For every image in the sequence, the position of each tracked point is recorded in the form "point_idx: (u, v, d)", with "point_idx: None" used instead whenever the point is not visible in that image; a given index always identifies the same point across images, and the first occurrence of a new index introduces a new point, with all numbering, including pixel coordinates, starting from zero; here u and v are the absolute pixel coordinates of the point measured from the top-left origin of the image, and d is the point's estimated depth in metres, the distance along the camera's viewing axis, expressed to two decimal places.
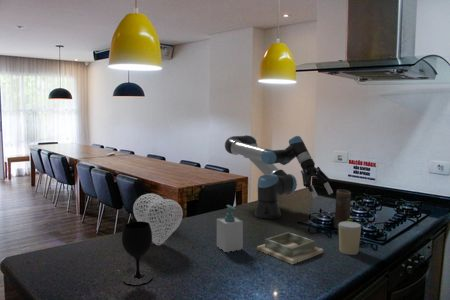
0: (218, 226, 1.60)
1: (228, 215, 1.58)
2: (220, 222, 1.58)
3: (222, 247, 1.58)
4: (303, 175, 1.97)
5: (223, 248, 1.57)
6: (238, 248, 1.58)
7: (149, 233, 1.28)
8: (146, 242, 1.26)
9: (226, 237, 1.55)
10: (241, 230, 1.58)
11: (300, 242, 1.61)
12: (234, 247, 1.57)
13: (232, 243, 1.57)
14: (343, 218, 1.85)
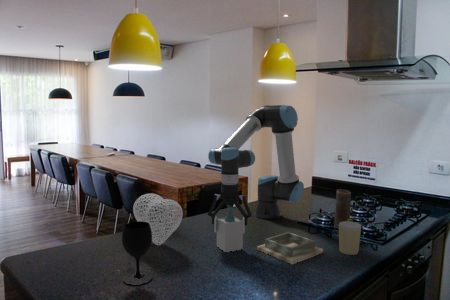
0: (218, 226, 1.60)
1: (228, 215, 1.58)
2: (220, 222, 1.58)
3: (222, 246, 1.58)
4: (213, 201, 1.60)
5: (223, 248, 1.57)
6: (238, 248, 1.58)
7: (149, 233, 1.28)
8: (146, 242, 1.26)
9: (226, 237, 1.55)
10: (241, 230, 1.58)
11: (300, 242, 1.61)
12: (234, 247, 1.57)
13: (232, 243, 1.57)
14: (343, 218, 1.85)
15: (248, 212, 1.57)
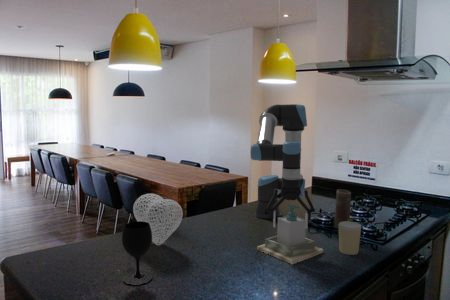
0: (279, 225, 1.57)
1: (290, 214, 1.55)
2: (282, 221, 1.55)
3: None
4: (272, 196, 1.56)
5: None
6: None
7: (149, 233, 1.28)
8: (146, 242, 1.26)
9: (290, 237, 1.51)
10: (304, 229, 1.54)
11: None
12: None
13: (295, 243, 1.53)
14: (343, 218, 1.85)
15: (311, 207, 1.53)
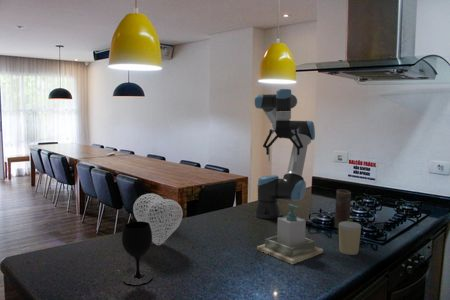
0: (279, 225, 1.57)
1: (290, 214, 1.55)
2: (282, 221, 1.55)
3: None
4: (268, 135, 1.87)
5: None
6: None
7: (149, 233, 1.28)
8: (146, 242, 1.26)
9: (290, 237, 1.51)
10: (304, 229, 1.54)
11: None
12: None
13: (295, 243, 1.53)
14: (343, 218, 1.85)
15: (300, 143, 1.84)
